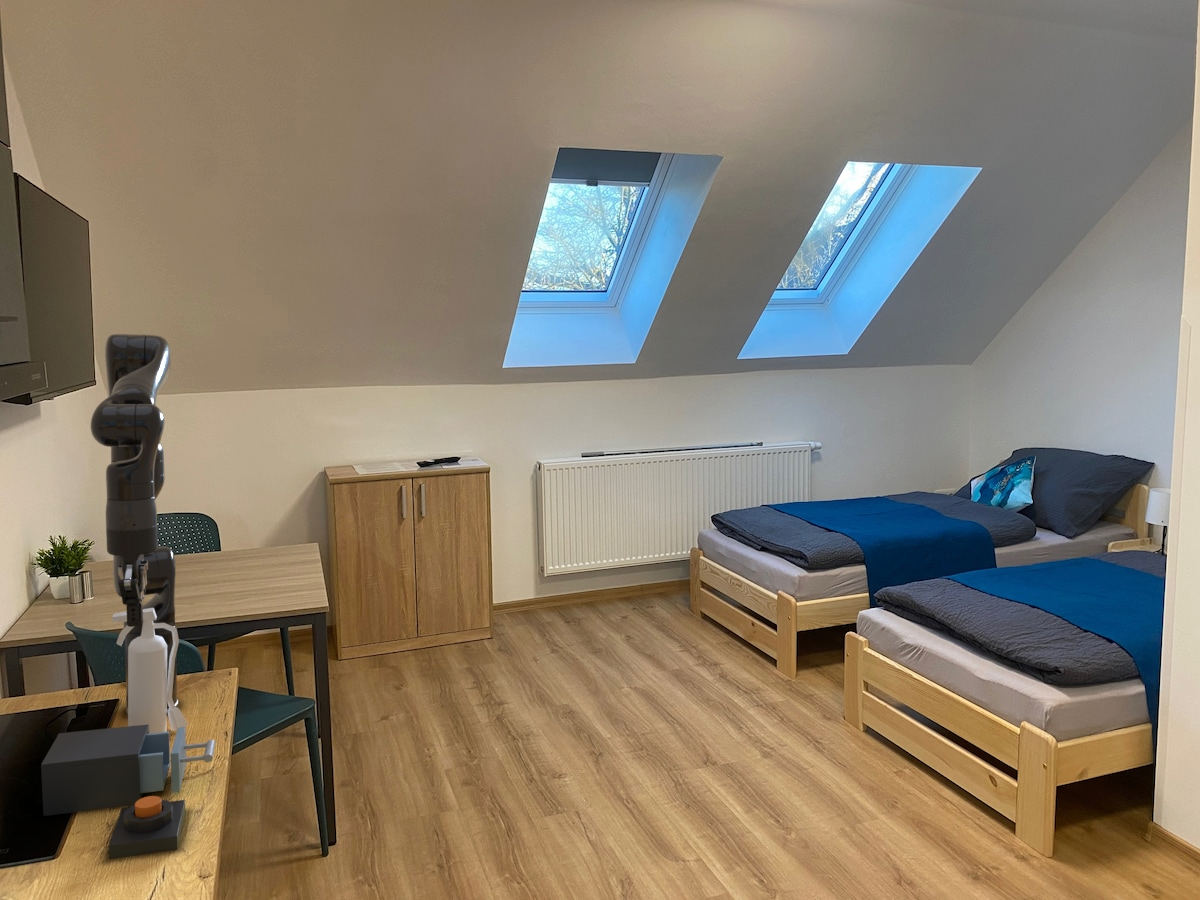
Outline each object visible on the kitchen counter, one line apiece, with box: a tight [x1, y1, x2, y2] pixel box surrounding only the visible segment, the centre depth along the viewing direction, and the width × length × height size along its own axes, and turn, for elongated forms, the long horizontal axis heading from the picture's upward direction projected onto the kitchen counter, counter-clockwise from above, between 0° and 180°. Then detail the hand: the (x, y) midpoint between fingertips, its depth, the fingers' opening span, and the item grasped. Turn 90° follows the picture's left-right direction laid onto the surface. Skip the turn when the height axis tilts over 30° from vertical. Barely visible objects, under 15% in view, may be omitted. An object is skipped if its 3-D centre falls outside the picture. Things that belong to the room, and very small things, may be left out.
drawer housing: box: [40, 724, 149, 817], centre depth 147 cm, size 14×12×9 cm
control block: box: [108, 799, 186, 860], centre depth 136 cm, size 11×9×4 cm
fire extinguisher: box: [111, 608, 189, 733], centre depth 167 cm, size 7×12×25 cm, turn 111°
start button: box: [135, 795, 162, 818], centre depth 135 cm, size 4×4×2 cm
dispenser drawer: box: [139, 727, 216, 794], centre depth 150 cm, size 17×10×7 cm, turn 109°
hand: (135, 624), depth 150 cm, fingers closed
